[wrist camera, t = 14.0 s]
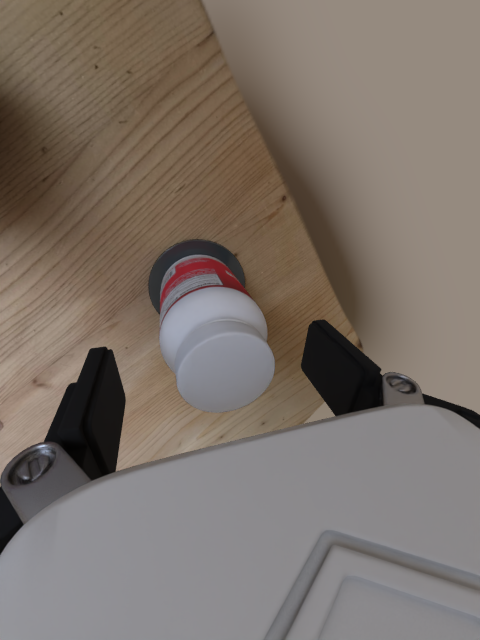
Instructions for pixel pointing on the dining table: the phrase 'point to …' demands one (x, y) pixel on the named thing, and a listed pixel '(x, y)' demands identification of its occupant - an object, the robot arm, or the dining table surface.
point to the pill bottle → (213, 336)
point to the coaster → (183, 251)
